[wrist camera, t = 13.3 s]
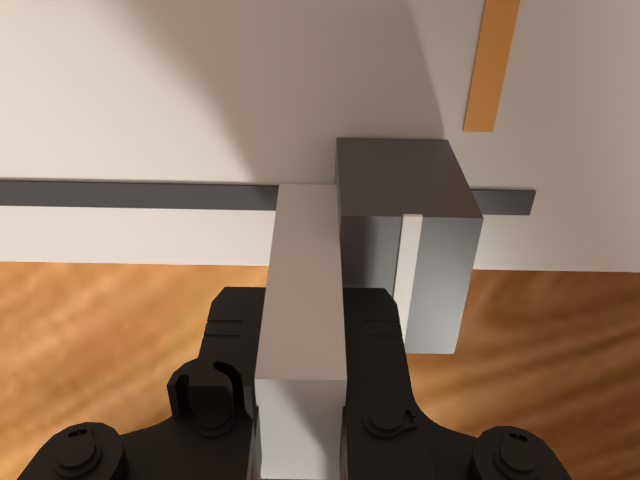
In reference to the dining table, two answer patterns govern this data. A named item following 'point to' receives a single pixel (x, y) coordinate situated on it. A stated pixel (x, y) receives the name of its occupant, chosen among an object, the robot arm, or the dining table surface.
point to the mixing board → (313, 121)
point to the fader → (409, 232)
